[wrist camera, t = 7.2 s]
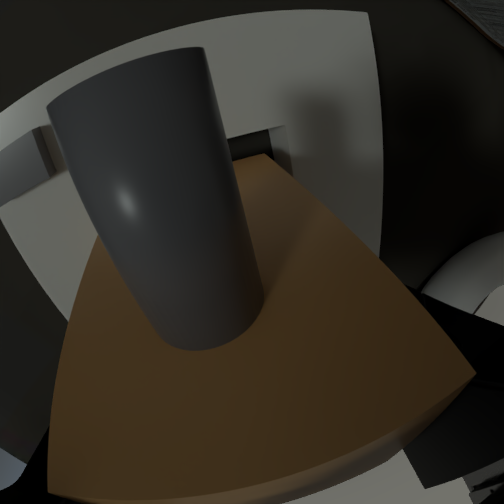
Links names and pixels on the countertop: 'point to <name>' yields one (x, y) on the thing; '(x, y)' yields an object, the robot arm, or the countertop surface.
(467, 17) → the tin
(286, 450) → the plug
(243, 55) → the socket plate
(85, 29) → the countertop surface
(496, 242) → the grey curved piece
